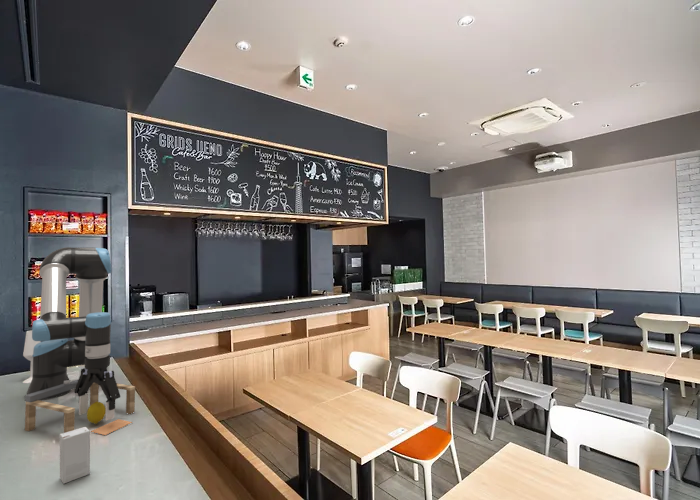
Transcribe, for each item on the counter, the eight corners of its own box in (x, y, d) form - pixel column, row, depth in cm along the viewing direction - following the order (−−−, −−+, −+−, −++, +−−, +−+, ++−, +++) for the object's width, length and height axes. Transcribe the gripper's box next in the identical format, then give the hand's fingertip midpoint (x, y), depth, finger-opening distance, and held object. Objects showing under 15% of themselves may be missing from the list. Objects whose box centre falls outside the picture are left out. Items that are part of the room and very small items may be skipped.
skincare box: (85, 468, 102) (86, 425, 103) (90, 474, 100) (91, 430, 100) (58, 478, 98) (59, 433, 98) (62, 485, 95) (63, 438, 95)
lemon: (95, 428, 127) (96, 405, 127) (82, 426, 128) (83, 403, 128) (109, 421, 132) (109, 399, 132) (96, 420, 133) (96, 398, 134)
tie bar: (24, 401, 125) (25, 391, 125) (97, 378, 148) (97, 370, 148) (30, 402, 124) (30, 392, 124) (102, 379, 147) (102, 371, 147)
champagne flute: (25, 379, 177) (26, 330, 178) (42, 377, 180) (44, 329, 181) (19, 383, 171) (21, 332, 172) (37, 381, 174) (39, 331, 175)
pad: (90, 432, 124) (90, 431, 124) (118, 420, 133) (118, 419, 133) (105, 435, 121) (105, 434, 121) (132, 423, 131) (132, 422, 131)
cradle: (24, 430, 125) (25, 401, 125) (94, 404, 148) (95, 379, 148) (67, 441, 117) (68, 410, 118) (134, 412, 140) (135, 386, 140)
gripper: (63, 355, 131) (61, 415, 131) (112, 362, 123) (111, 425, 122) (84, 351, 139) (83, 407, 138) (132, 356, 130) (131, 416, 129)
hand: (96, 416), depth 130 cm, fingers open, 13 cm apart
